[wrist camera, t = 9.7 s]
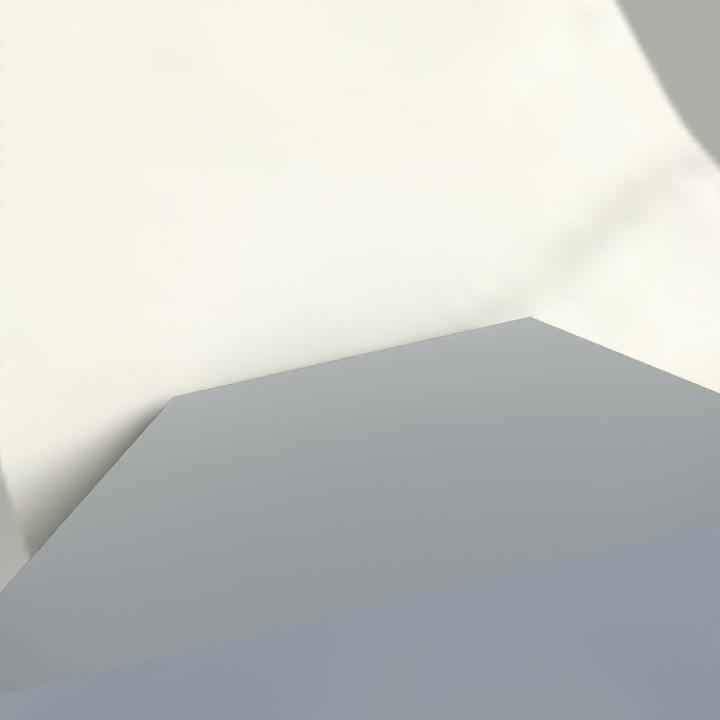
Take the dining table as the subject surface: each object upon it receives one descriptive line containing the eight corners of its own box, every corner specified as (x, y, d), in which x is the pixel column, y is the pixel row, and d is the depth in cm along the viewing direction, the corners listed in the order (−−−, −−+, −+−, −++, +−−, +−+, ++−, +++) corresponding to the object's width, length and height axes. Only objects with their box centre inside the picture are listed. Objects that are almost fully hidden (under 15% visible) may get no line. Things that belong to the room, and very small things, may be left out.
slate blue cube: (560, 603, 16) (835, 1028, 7) (269, 673, 16) (209, 1195, 7) (529, 317, 13) (921, 474, 5) (173, 397, 13) (-115, 723, 4)
